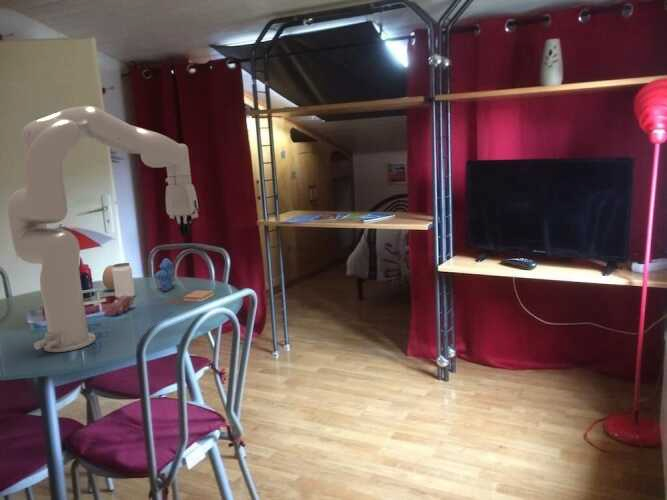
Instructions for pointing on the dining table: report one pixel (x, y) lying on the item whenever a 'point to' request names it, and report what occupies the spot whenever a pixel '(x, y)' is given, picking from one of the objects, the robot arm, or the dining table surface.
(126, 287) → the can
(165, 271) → the grapes
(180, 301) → the mat
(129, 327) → the dining table surface
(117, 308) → the red lumpy clump
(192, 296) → the tile
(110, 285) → the egg
